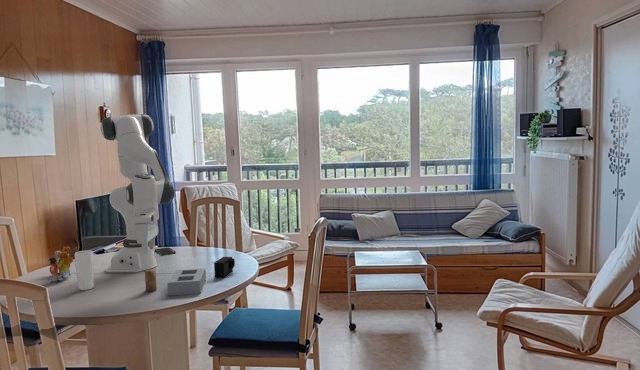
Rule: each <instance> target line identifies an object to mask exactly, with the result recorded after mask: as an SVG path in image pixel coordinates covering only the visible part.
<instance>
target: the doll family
mask: <svg viewBox="0 0 640 370" xmlns="http://www.w3.org/2000/svg"><path fill="white" fill-rule="evenodd" d="M70 248H71V247H70V246H63V248H62V249H61V250H56V251H55V252H54V253H53V254H54V255H55V257H54V256H52V257H49V259H48V264H50V266H49V270H48V271H49V273H50V274H51V275H52V276H51V277H52V278H51V281H49V285H52V284H57V283H59V282H60V279H59V276H61V277H62V279H61V282H66V281H69V280H70V279H71V278H70V276H71V272H70V268H71V264H73V263H74V261H75V257H74V258H73V257H71V256H70V254H69V253H70Z"/></svg>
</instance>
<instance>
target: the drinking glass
mask: <svg viewBox="0 0 640 370" xmlns="http://www.w3.org/2000/svg"><path fill="white" fill-rule="evenodd" d="M74 259H75V260H74V264H75V270H76V272H75V273H76V277H77V283H78V289H79V290H80V291H89V290H92V289H93V288H94V287H95V285H94V276H95V274H94V273H95V272H94V271H95V255H94V251H93V250H90V249H89V250H88V249H87V250H86V249H85V250H80V251H76V252H75V253H74Z"/></svg>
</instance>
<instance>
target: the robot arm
mask: <svg viewBox="0 0 640 370" xmlns="http://www.w3.org/2000/svg"><path fill="white" fill-rule="evenodd" d="M154 127H155V126H154V122H153V119H152V118H151V116H150V115H148V114H143V113H141V114H125V115H124V114H123V115H122V114H121V115H117V116H107V117H103V119H102V120H101V122H100V133H101V135H102V137H103V138H104V139H105V140H107V141H116V142H117V157H118V158H117V159H118V162H119V163H118V165H119V170H120V174H121V175H122V176H123V177H124V178H127V179H128V180H129V181H130V182H131V183H129V184H128V185H126V186H122V187H121V186H120V187H118V188H115V189H112V191H111V193H110V195H109V203H110V205H111V207H112V208H113V210H115V211H117V212H118V213H120V215H121V216H122V218H123V220H124V223H125V228H126V229H125V230H126V237H125V238H124V239H123V240H122V244H121V245H122V246H123V247H121V248H120V249H119V250H118V251H116V252H115V253H114V254H113V255H112V256H111V258H110V264H109V265H108V266H106V268H105V272H106V273H140V272H143V271H145V270H149V269H154V268H155V267H157V266H158V262H157V260H156V256H155V252H154V251H155V242H156V236H158V235H159V225H158V220H159V219H160V212H159V205H169V204H170V203H171V201H174V198H175V188H174V185H173V184H172V182H171V180H170V178H169V176H168V175H167V174H168V173H167V171H166V169H165V167H164V164H163V162H162V160H161V158H160V156H159V154H158V152H157V150H156V149H155V148H153V147H152V146H150V145H149V144H148V142H147V141H146V140H147V138H149V137H150V136H151V135H152V134H153V131H154ZM146 165H147V166H148V167H149V168H150V169H151V170H152V173H153V174H151V173H148V170H147V166H146Z"/></svg>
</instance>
